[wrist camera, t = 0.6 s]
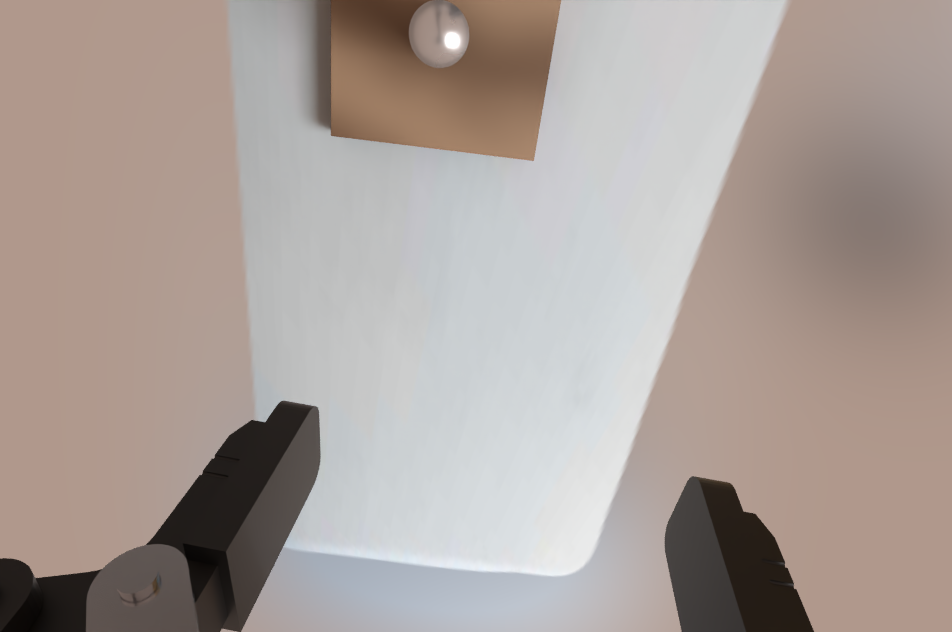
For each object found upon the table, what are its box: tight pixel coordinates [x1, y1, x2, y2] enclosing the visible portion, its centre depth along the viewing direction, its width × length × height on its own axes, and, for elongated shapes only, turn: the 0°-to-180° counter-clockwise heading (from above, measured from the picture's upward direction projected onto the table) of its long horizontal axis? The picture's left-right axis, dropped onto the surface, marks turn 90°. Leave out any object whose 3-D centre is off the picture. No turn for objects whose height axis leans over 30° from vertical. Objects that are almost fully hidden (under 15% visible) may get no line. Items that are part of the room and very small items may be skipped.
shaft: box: [409, 0, 469, 68], centre depth 22 cm, size 2×2×5 cm
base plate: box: [331, 0, 561, 161], centre depth 25 cm, size 10×10×1 cm
